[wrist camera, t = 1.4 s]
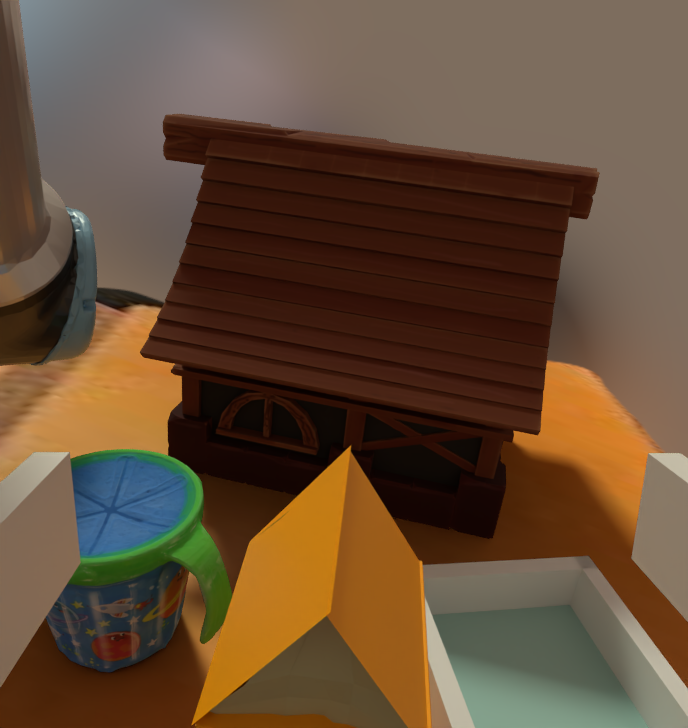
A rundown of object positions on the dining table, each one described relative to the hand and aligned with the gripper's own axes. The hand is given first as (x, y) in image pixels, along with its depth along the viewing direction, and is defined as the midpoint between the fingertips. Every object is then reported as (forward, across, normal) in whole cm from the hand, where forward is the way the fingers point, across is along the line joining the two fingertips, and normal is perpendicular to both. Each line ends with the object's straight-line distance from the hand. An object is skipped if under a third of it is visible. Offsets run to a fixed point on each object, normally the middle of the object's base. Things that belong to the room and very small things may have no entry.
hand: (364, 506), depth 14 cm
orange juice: (+10, -2, -23) cm, 25 cm away
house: (+45, +2, -17) cm, 48 cm away
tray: (+18, +12, -22) cm, 31 cm away
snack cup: (+22, -13, -20) cm, 33 cm away
